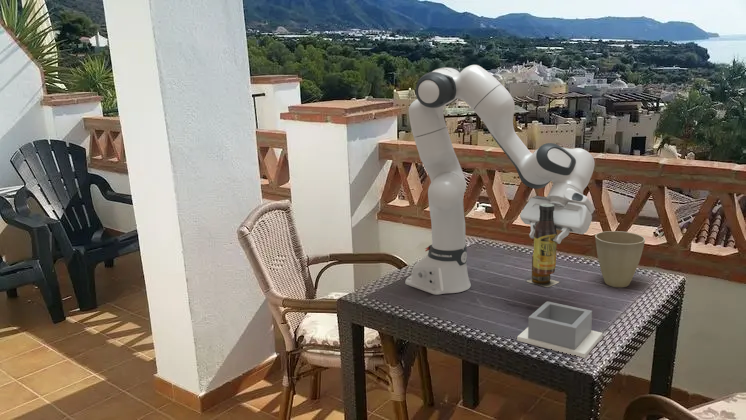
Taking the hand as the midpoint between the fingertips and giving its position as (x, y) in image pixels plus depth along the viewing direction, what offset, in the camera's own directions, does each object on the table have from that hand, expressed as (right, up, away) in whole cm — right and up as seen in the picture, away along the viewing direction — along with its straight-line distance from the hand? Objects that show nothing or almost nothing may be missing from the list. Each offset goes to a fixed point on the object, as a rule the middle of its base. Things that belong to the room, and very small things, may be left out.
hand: (544, 239), depth 165 cm
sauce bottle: (+1, -10, +3) cm, 10 cm away
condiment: (+9, -16, +32) cm, 37 cm away
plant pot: (+32, -16, +28) cm, 46 cm away
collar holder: (+2, -26, -8) cm, 27 cm away
